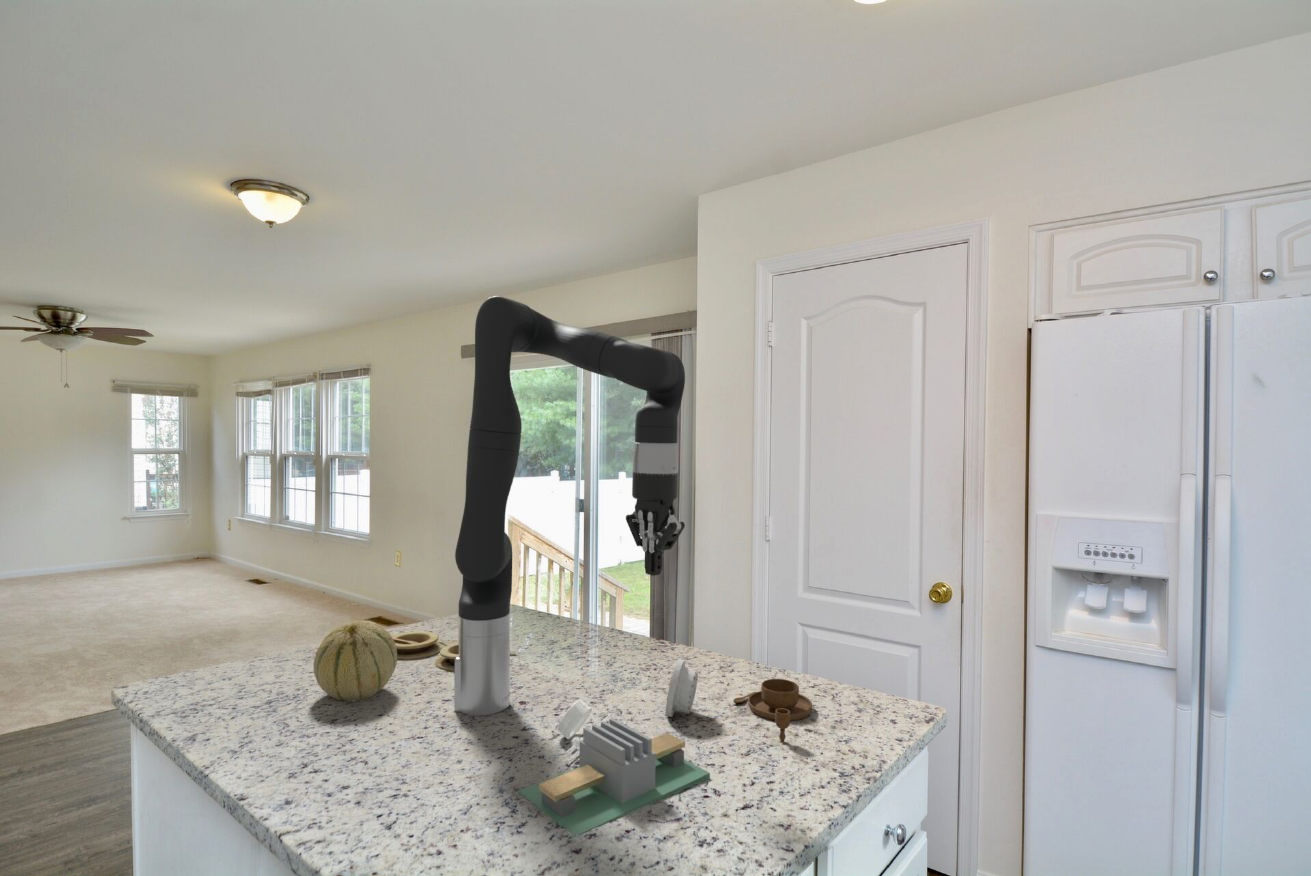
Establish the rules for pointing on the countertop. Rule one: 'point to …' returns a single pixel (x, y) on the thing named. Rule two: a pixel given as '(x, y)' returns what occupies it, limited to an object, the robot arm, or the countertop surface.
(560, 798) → the left strap
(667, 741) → the wooden block
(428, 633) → the tableware set
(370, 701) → the countertop surface
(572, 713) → the wide band ring
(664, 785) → the board
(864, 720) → the countertop surface
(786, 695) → the place setting
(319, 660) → the cantaloupe
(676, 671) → the mechanical component
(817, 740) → the countertop surface
